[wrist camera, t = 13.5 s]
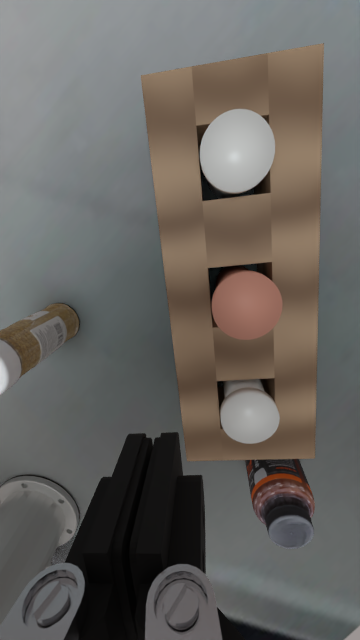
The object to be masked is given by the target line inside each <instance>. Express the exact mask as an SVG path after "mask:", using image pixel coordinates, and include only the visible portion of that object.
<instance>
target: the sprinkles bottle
mask: <svg viewBox="0 0 360 640" xmlns="http://www.w3.org/2000/svg"><path fill="white" fill-rule="evenodd" d="M78 329H79V320H78V316H77V314H76V313H75V312H74V310H73V309H71V308H70V307H69V306H67V305H65V304H60V303H59V304H58V303H56V304H51V305H49V306H48V307H46V308H45V309H43V310H41V311H39V312H36V313H34V314H32V315H30V316H28V317H26V318H24V319H22V320H20V321H18V322H16V323H14V324H12V325H10V326H9V327H7V328H5V329H3V330H1V331H0V395H1V394H2V393H4V392H5V391H6V390H8V389H9V388H10V387H12V386H13V385H14V384H15V383H16V382H17V381H18V379H19V378H20V377H21V376H22V375H23V374H25V373H26V372H27V371H29V370H30V369H31V368H33V367H35V366H36V365H37V364H39V363H40V362H41V361H43V360H44V359H45V358H46V357H48V356H49V355H50V354H52V353H53V352H54V351H55V350H57V349H58V348H59V347H60V346H61V345H62V344H63V343H64V342H66V341H67V340H68V339H70V338H72V337H74V336H75V335H76V333H77V331H78Z"/></svg>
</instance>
